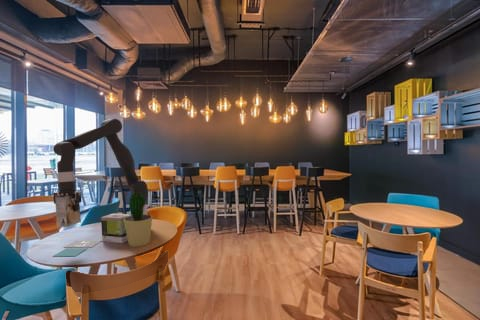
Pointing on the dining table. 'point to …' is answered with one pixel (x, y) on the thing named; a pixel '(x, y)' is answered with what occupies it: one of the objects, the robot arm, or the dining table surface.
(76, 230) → the dining table surface
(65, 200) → the coffee box
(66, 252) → the mat
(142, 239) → the potted cactus
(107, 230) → the tea box
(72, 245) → the plate
